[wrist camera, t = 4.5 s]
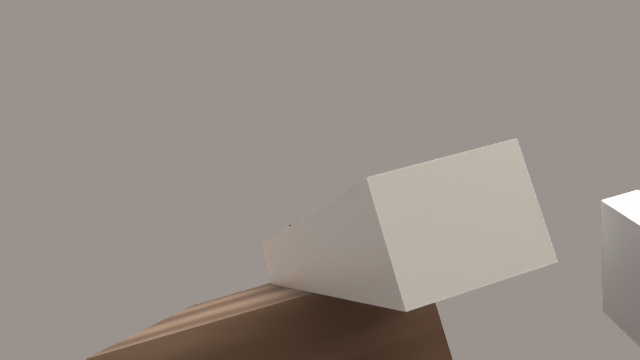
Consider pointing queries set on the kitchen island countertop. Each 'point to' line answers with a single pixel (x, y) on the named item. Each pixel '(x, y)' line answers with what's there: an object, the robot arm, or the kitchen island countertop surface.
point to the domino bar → (419, 233)
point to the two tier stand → (287, 330)
